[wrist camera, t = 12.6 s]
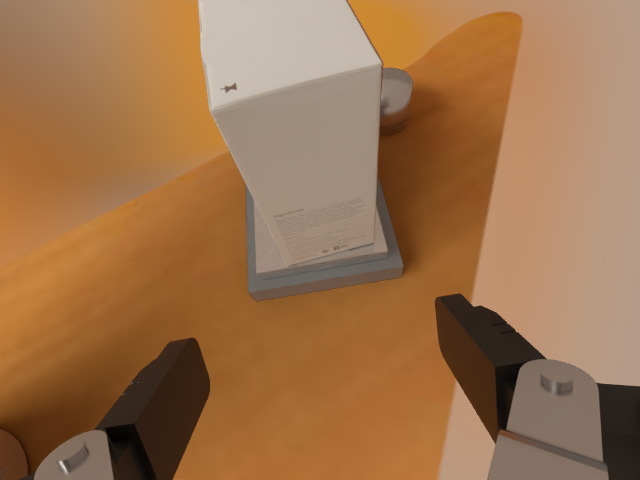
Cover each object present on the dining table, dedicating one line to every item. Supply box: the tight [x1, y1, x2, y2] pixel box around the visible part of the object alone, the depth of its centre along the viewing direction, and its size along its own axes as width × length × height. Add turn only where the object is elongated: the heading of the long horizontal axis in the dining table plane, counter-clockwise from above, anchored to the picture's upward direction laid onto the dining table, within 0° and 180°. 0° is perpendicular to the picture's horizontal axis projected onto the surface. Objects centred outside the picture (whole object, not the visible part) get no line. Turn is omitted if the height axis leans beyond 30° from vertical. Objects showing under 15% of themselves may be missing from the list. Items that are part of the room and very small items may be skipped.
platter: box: [254, 201, 388, 280], centre depth 25 cm, size 9×9×1 cm
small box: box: [198, 0, 383, 266], centre depth 19 cm, size 8×6×13 cm
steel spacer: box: [379, 68, 413, 136], centre depth 31 cm, size 4×4×4 cm
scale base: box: [246, 176, 404, 301], centre depth 25 cm, size 11×13×7 cm
